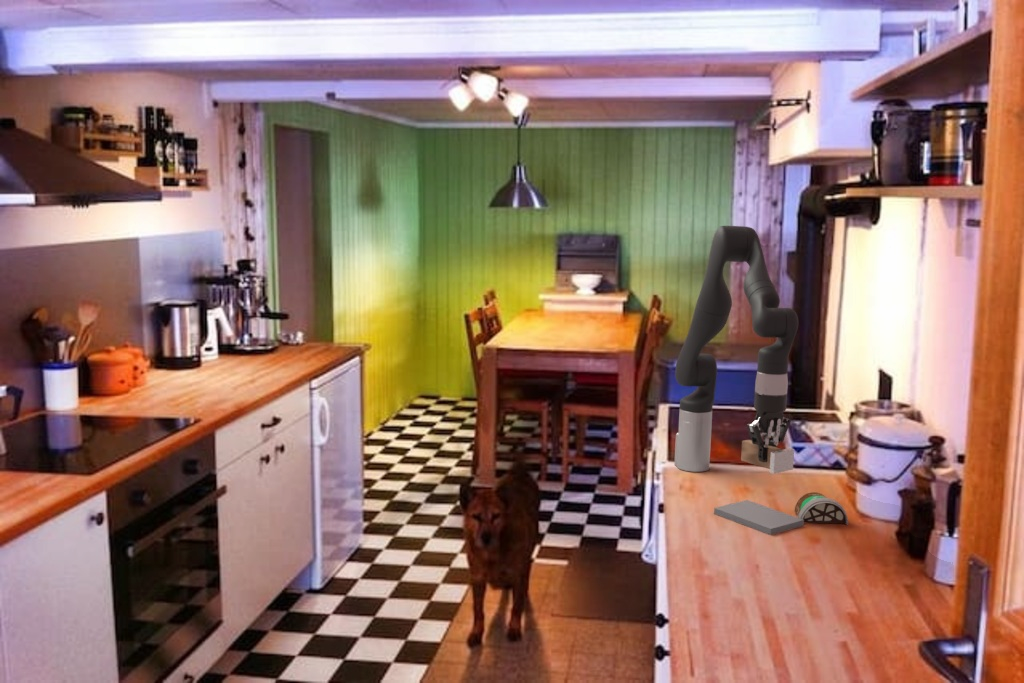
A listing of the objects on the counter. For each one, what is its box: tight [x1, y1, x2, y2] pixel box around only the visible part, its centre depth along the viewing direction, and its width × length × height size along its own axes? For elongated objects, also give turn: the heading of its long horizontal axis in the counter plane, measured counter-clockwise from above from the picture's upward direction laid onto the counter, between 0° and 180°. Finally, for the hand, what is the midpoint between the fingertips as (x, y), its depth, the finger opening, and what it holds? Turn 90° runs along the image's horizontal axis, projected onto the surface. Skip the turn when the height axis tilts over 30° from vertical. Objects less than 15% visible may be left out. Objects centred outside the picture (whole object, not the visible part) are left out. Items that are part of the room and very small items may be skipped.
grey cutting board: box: [713, 499, 805, 536], centre depth 253 cm, size 18×12×2 cm, turn 36°
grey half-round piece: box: [794, 491, 849, 526], centre depth 255 cm, size 12×6×10 cm
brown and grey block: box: [740, 439, 795, 475], centre depth 250 cm, size 12×7×5 cm, turn 36°
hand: (766, 460), depth 249 cm, fingers closed on brown and grey block
